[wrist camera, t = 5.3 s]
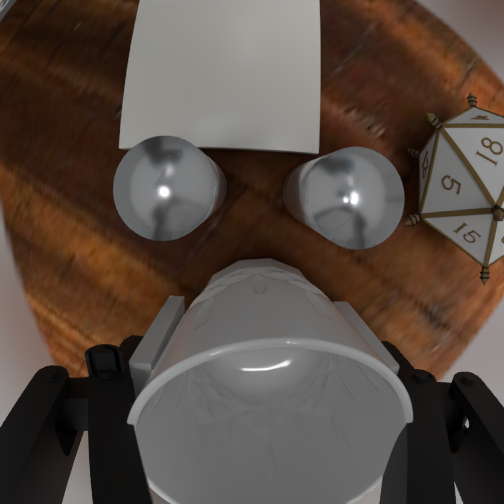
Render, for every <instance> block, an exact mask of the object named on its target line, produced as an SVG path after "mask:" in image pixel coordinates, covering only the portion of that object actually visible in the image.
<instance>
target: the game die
mask: <svg viewBox="0 0 504 504" xmlns="http://www.w3.org/2000/svg"><path fill="white" fill-rule="evenodd" d="M467 99H468V103H469V105H470V108H468V109H466V110H464V111H463V112H461V113H459V114H457V115H455V116H454V117H452V118H450V119H448V120H447V121H445V122H443V123H441V122H440V118H439V117H437V114H436V113H435V114H432V113H427V112H426V113H427V119H428V120H427V122H428V123H430V124H431V126H433V127H436V129H435V131H434V132H433V134H432V135H431V137H430V138H429V140H428V141H427V143H426V144H425V146H424V147H423V149H422V150H421V151H419V150H418V149H416V148H413V147H412V148H410V149H407V151H408V152H409V154H410V157H412V156H413V157H414V158H415V157H418V158H419V202H418V213H417V214H413V213H412V215H407V216H408V217H407V219H406V220H405V222H404V224H403V225H411V226H413V225H414V224H416V223H418V221H419V220H422V221H424V222H425V223H426V224H428V225H429V226H431V227H432V228H433V229H435V230H436V231H437V232H439V233H440V234H441V235H443V236H444V237H445V238H447V239H448V240H449V241H451V242H452V243H453V244H455V245H456V246H457V247H459V248H460V249H461V250H462V251H464V252H465V253H466V254H467V255H469V256H470V257H471V258H472V259H474V260H475V261H476V262H477V263H479V264H480V265H481V266H482V271H481V272H480V273H481V277H480V278H481V280H482V282H483V284H484V286H485V284H486V283H487V281H488V279H489V278H490V277H489V274H490V272H489V269H488V268H489V266H491V265H492V264H494V263H495V262H497V261H498V260H500V259H501V258H503V257H504V116H501V115H498V114H496V113H493V112H490V111H487V110H484V109H481V108H478V107H476V103H477V101H476V99H477V98H476V97H474V96H473V94H472V93H471V92H470V94H469V96H468V97H467Z"/></svg>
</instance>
